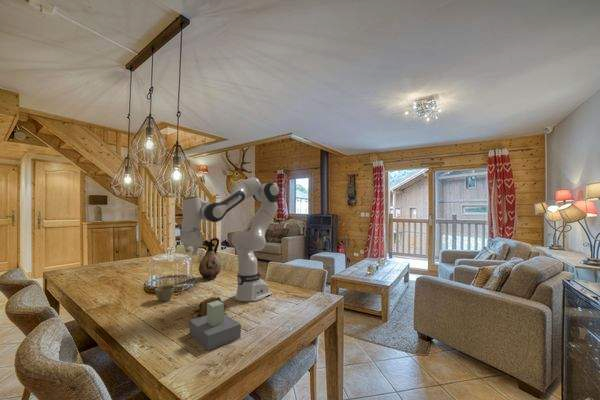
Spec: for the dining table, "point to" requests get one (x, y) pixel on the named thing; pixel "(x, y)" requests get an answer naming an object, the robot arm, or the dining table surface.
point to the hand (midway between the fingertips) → (190, 253)
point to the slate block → (214, 332)
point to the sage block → (215, 313)
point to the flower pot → (164, 292)
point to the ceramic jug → (210, 261)
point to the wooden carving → (203, 306)
